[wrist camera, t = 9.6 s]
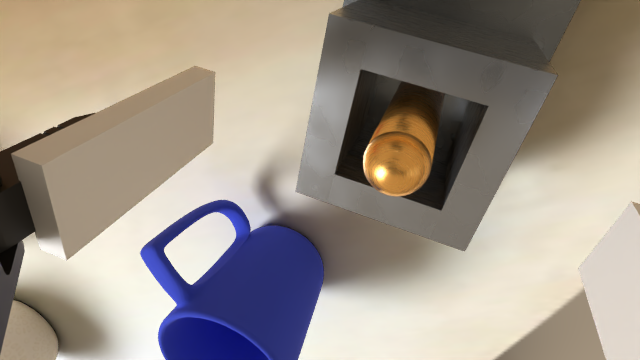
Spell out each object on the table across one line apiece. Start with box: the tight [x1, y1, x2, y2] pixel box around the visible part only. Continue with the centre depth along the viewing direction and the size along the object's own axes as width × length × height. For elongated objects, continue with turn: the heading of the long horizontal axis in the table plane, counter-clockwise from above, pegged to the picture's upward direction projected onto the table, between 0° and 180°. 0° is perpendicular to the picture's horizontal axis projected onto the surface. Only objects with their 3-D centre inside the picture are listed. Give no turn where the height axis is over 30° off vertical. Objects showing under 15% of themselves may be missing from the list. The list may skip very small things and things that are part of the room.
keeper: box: [343, 0, 581, 197], centre depth 16 cm, size 16×10×10 cm, turn 168°
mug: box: [140, 200, 324, 360], centre depth 26 cm, size 8×12×10 cm
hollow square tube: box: [296, 0, 558, 251], centre depth 18 cm, size 8×8×6 cm
